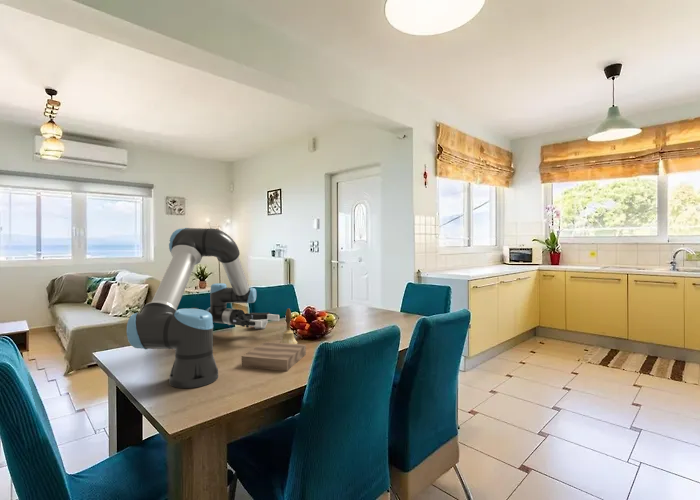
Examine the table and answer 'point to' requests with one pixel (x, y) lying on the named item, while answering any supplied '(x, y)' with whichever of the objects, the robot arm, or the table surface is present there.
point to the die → (264, 323)
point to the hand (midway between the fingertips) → (270, 320)
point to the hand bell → (288, 331)
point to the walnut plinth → (274, 356)
